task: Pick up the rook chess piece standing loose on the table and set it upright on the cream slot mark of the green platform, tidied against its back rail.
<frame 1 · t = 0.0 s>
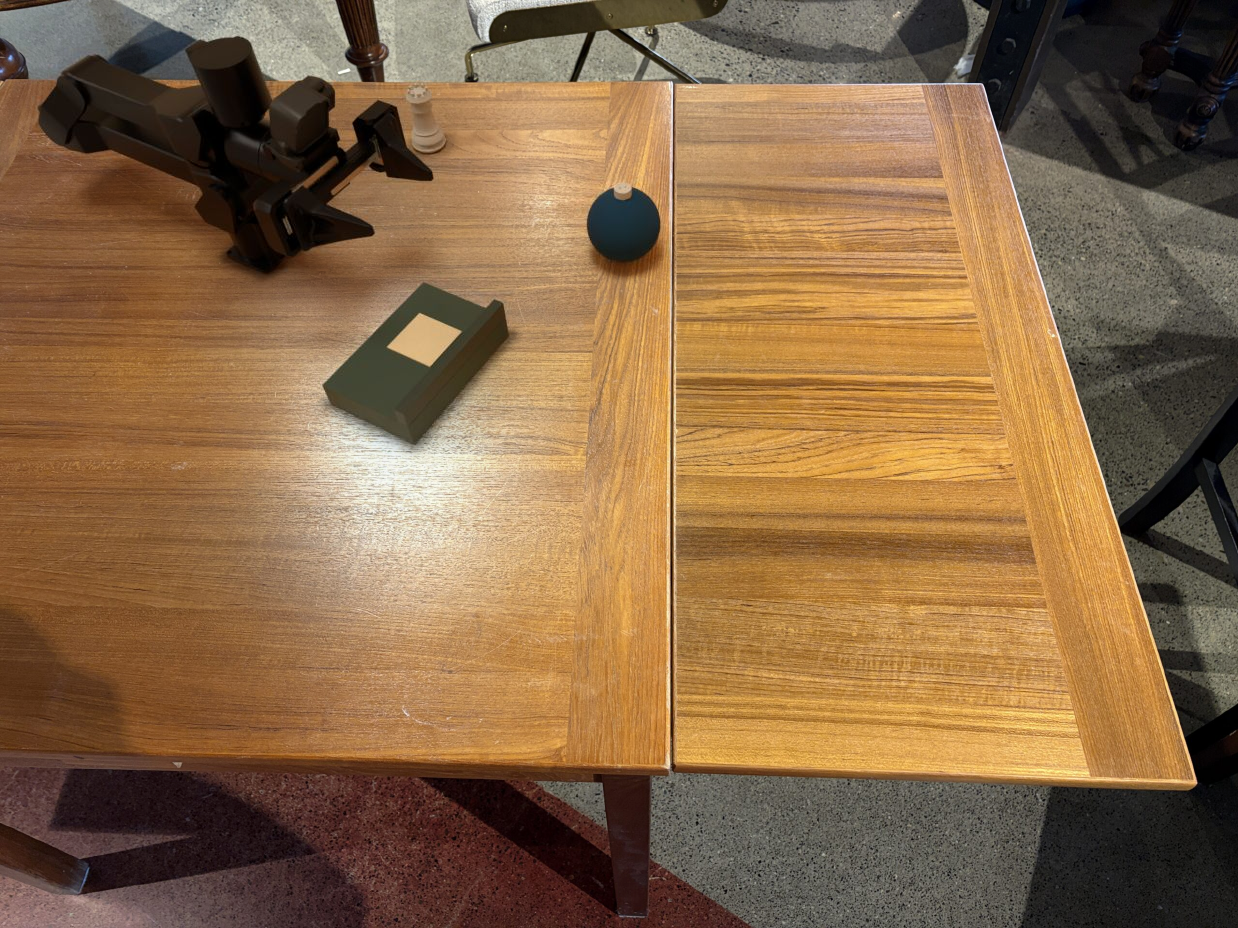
hand: (403, 202, 85), 17 cm above the table, tool horizontal, fingers open, 9 cm apart
green platform: (422, 368, 95), on the table
christmas ornament: (624, 254, 105), on the table
rook chess piece: (430, 145, 118), on the table
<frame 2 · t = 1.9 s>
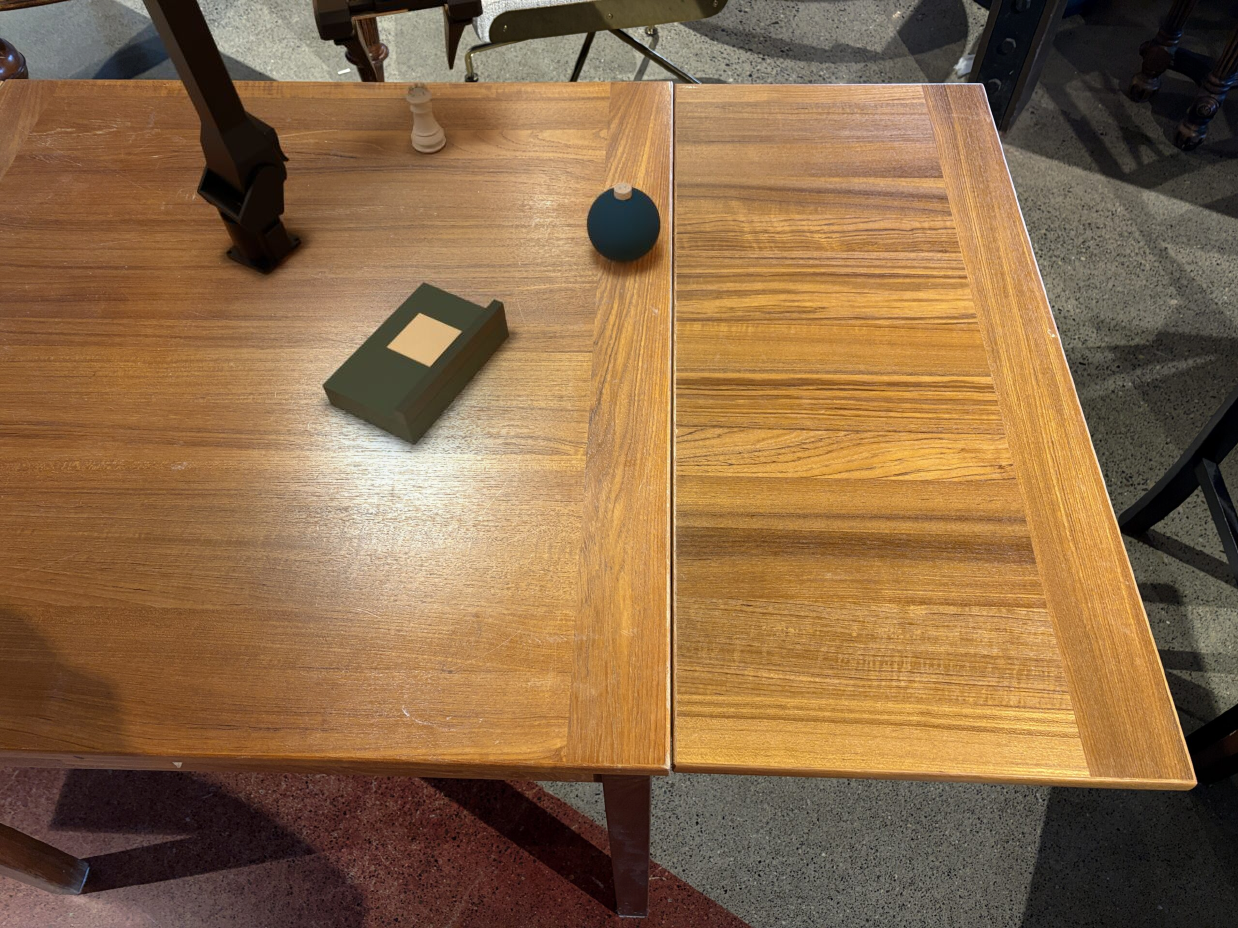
hand: (413, 74, 110), 10 cm above the table, tool pointing down, fingers open, 9 cm apart
nothing on the table moved.
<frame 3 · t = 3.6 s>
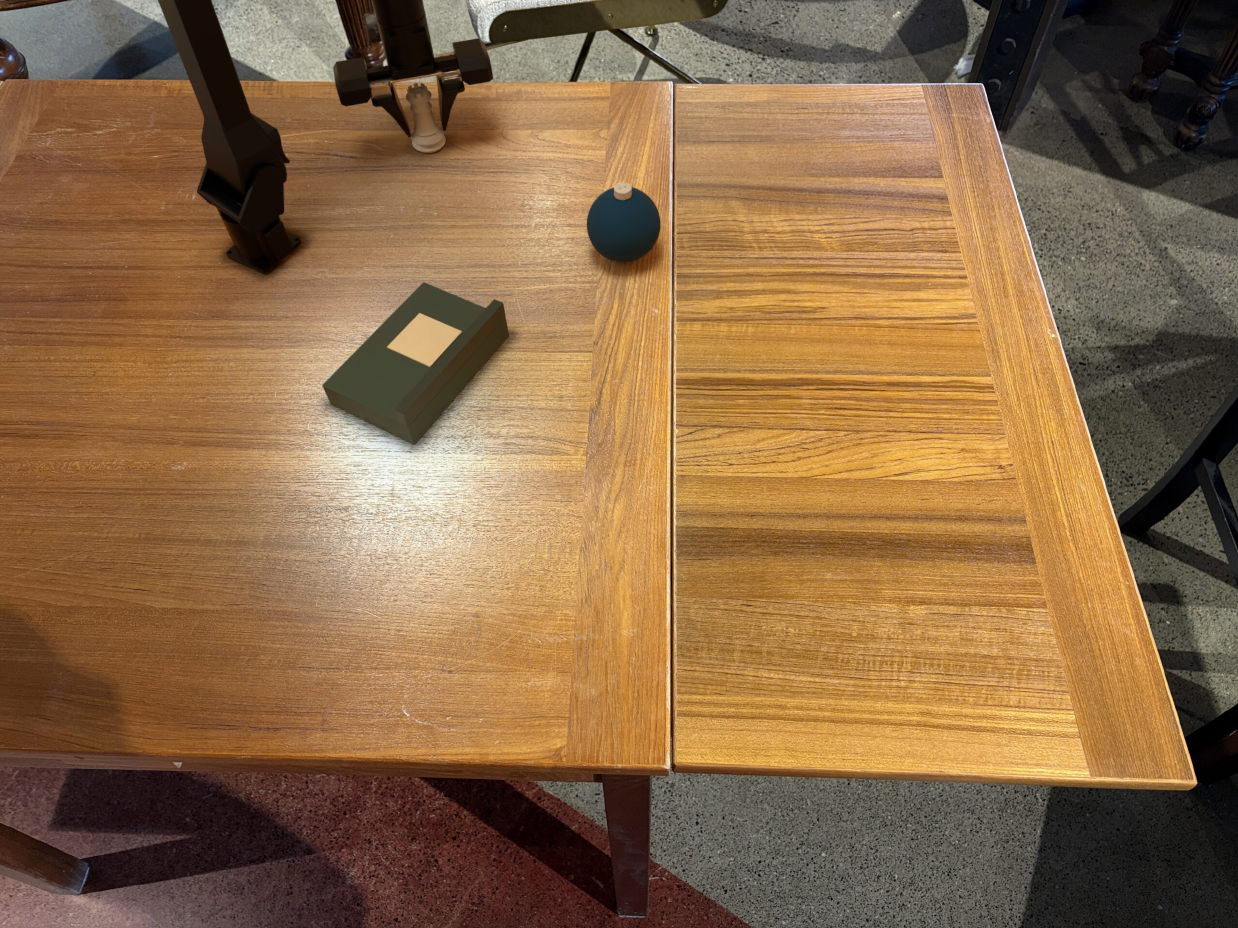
hand: (427, 132, 116), 2 cm above the table, tool pointing down, fingers closed on rook chess piece, 4 cm apart
rook chess piece: (429, 145, 118), on the table, touching gripper
everything else where it was.
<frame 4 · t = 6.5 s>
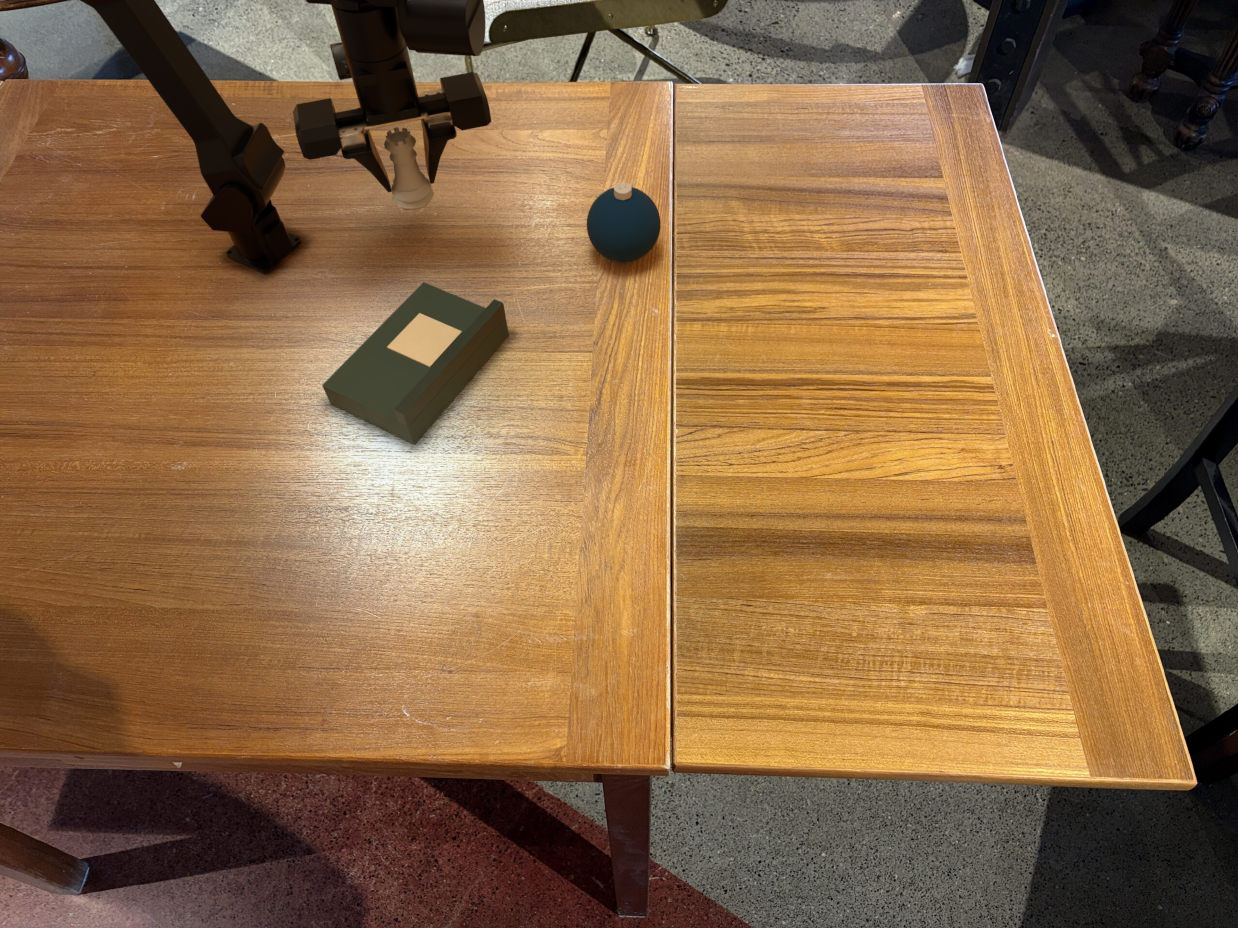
hand: (410, 185, 96), 11 cm above the table, tool pointing down, fingers closed on rook chess piece, 4 cm apart
rook chess piece: (414, 200, 97), point 9 cm above the table, touching gripper
everything else where it was.
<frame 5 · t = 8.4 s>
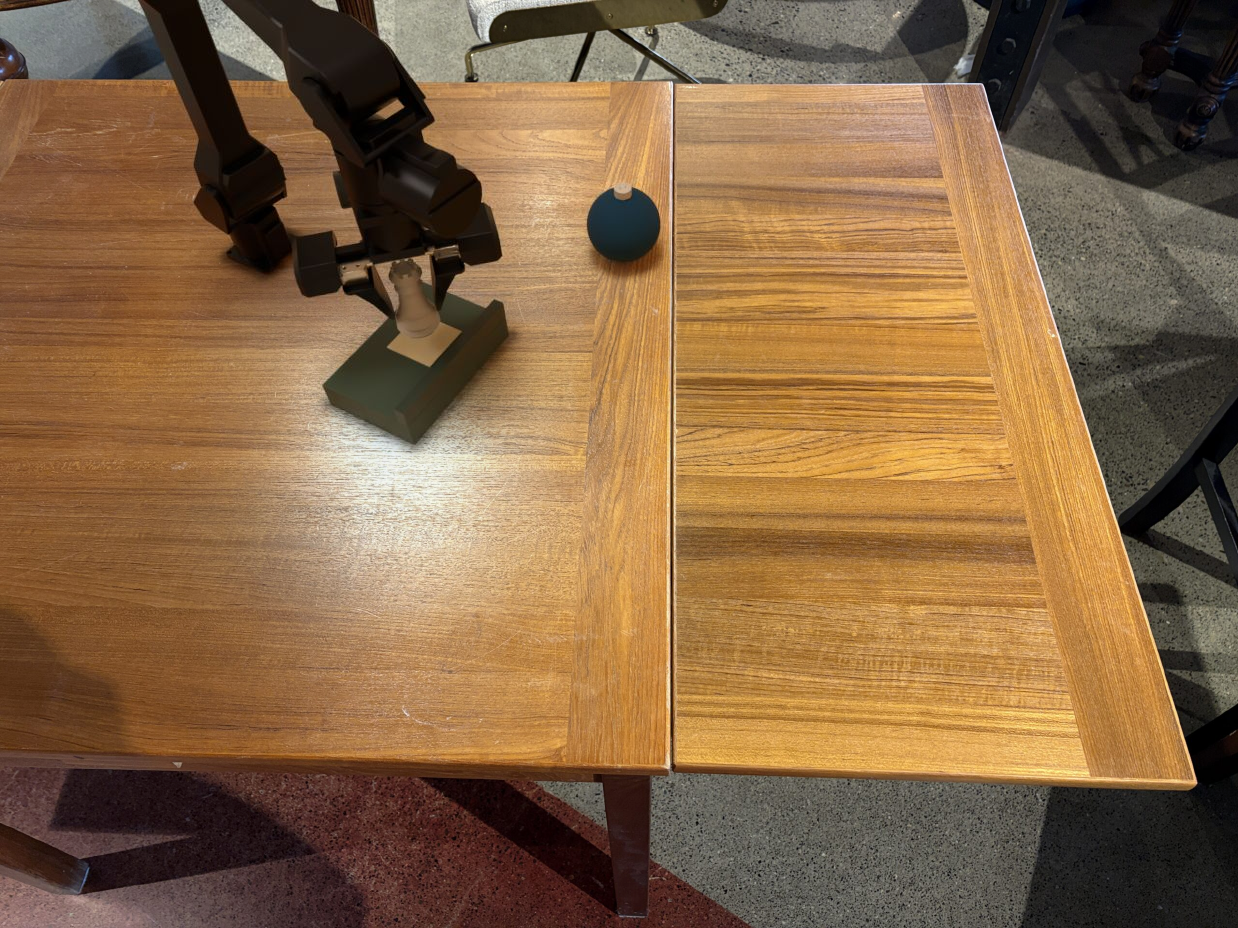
hand: (416, 312, 90), 7 cm above the table, tool pointing down, fingers closed on rook chess piece, 4 cm apart
rook chess piece: (419, 326, 92), point 5 cm above the table, touching gripper
everything else where it was.
when the fingers open (5 cm above the table, at t = 9.4 s): rook chess piece stays where it is, resting on green platform.
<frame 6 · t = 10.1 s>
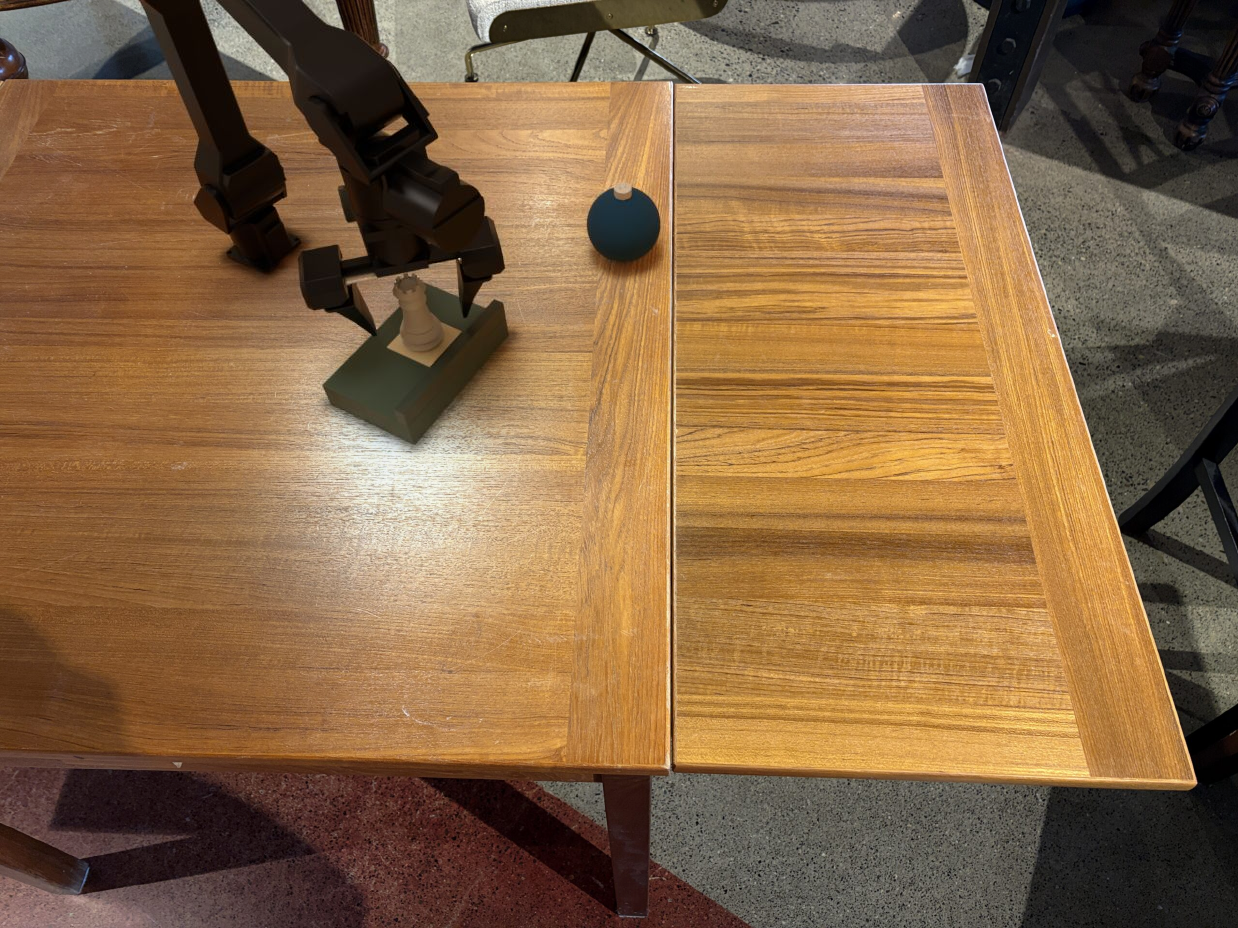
hand: (420, 324, 92), 5 cm above the table, tool pointing down, fingers open, 9 cm apart
rook chess piece: (423, 339, 94), point 3 cm above the table, touching green platform
everything else where it was.
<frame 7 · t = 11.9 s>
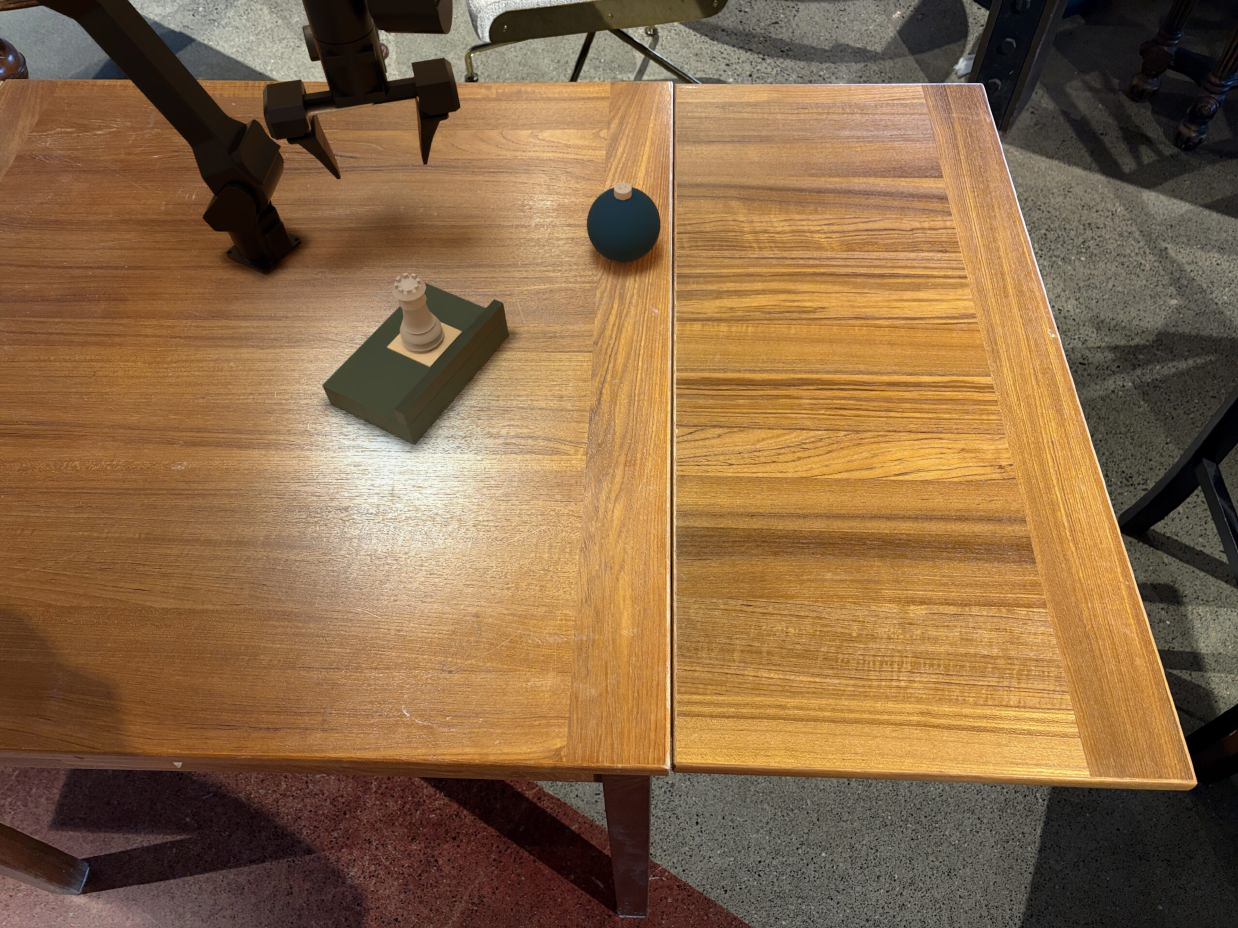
hand: (382, 169, 96), 12 cm above the table, tool pointing down, fingers open, 9 cm apart
nothing on the table moved.
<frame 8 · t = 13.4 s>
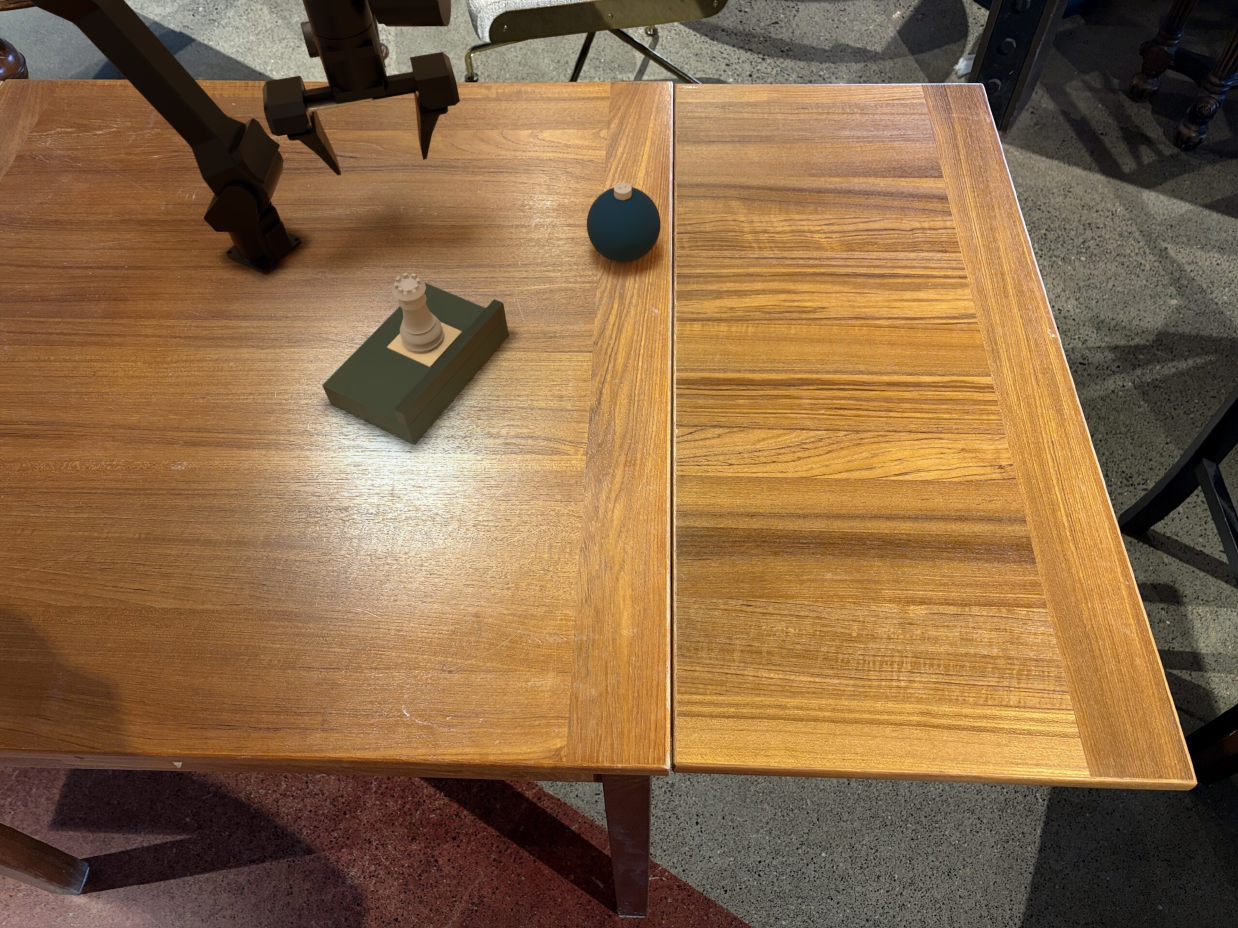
hand: (382, 165, 96), 12 cm above the table, tool pointing down, fingers open, 9 cm apart
nothing on the table moved.
at the end: rook chess piece 0.1 cm from the target spot on the green platform, point 3.0 cm above the green platform's base; rook chess piece tilted 0°; the gripper is holding nothing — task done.
